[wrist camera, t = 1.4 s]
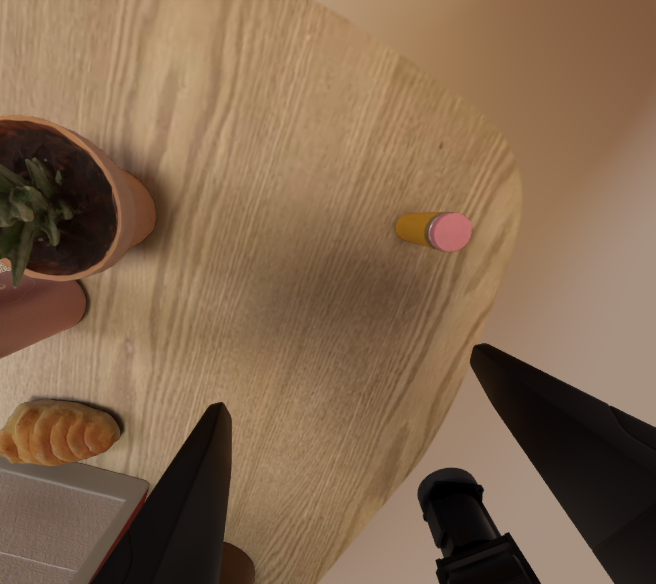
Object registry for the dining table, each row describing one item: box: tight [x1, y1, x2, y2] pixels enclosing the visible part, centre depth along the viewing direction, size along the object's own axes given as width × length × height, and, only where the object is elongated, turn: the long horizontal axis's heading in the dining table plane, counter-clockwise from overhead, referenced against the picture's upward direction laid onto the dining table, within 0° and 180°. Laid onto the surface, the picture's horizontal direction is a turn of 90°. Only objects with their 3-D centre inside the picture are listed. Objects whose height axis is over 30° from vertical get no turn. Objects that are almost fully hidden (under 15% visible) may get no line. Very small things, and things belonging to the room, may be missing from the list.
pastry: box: [0, 399, 120, 466], centre depth 27 cm, size 9×7×4 cm
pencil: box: [395, 212, 472, 252], centre depth 20 cm, size 2×2×8 cm
